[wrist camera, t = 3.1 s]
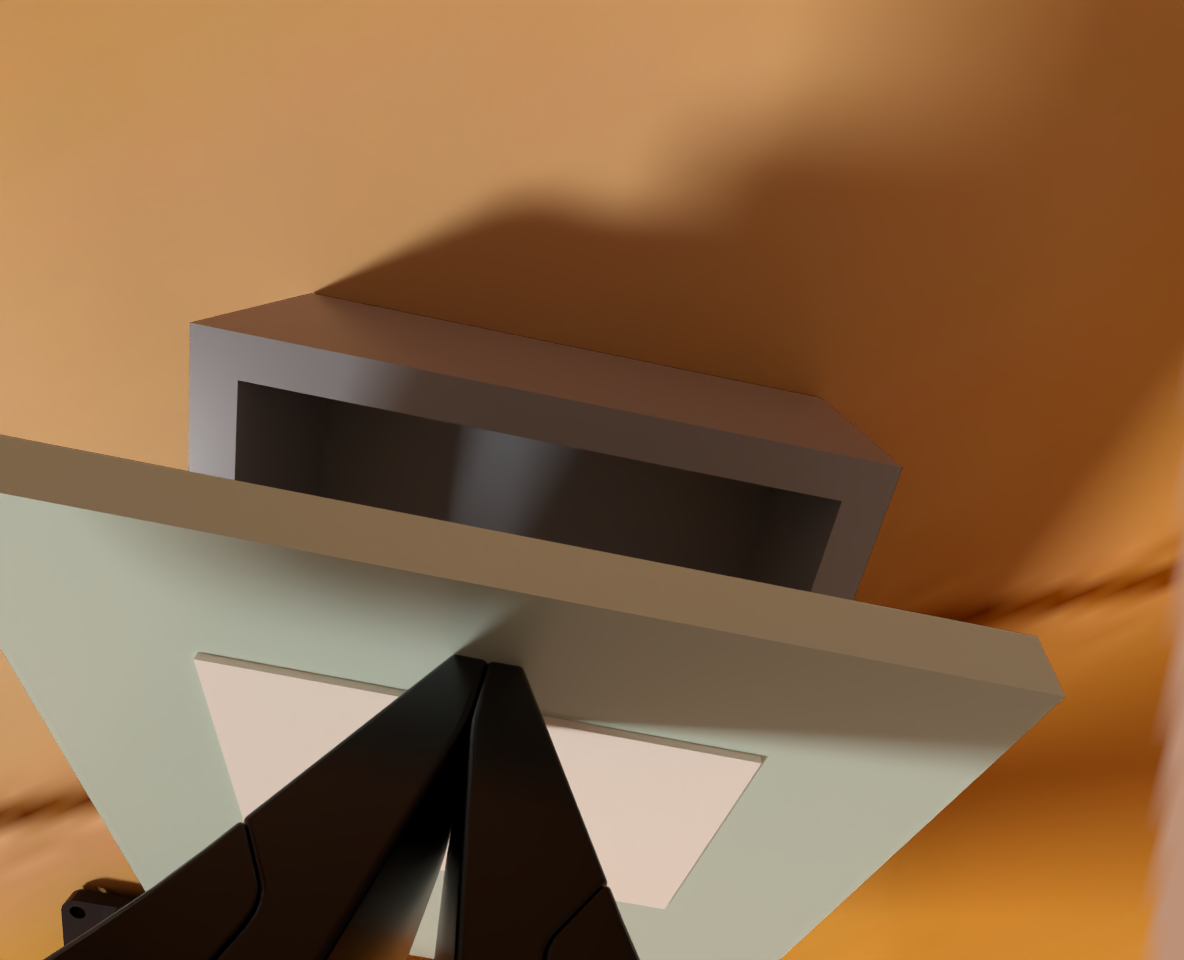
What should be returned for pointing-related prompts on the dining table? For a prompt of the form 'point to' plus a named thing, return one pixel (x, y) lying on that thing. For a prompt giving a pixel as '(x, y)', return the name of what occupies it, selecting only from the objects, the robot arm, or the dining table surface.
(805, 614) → the lid
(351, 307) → the storage box
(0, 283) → the dining table surface
